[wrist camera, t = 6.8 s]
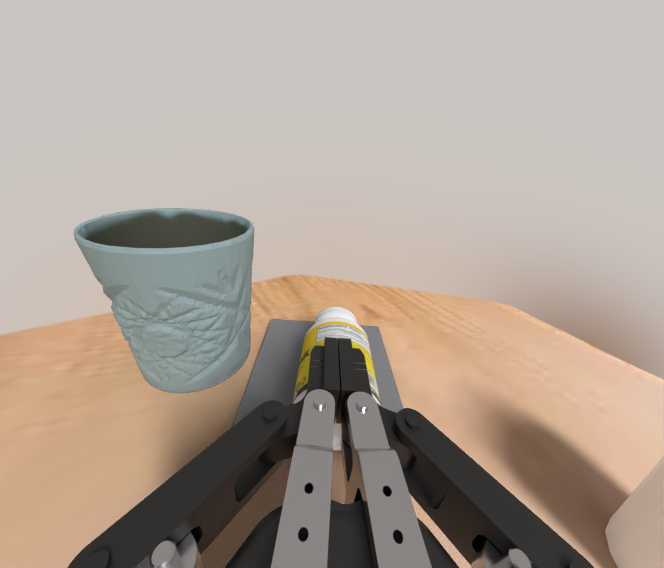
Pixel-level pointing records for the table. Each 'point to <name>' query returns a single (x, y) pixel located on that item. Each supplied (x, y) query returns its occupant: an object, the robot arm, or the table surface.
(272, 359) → the mat
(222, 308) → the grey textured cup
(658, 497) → the shot glass
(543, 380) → the table surface
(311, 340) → the supplement bottle
